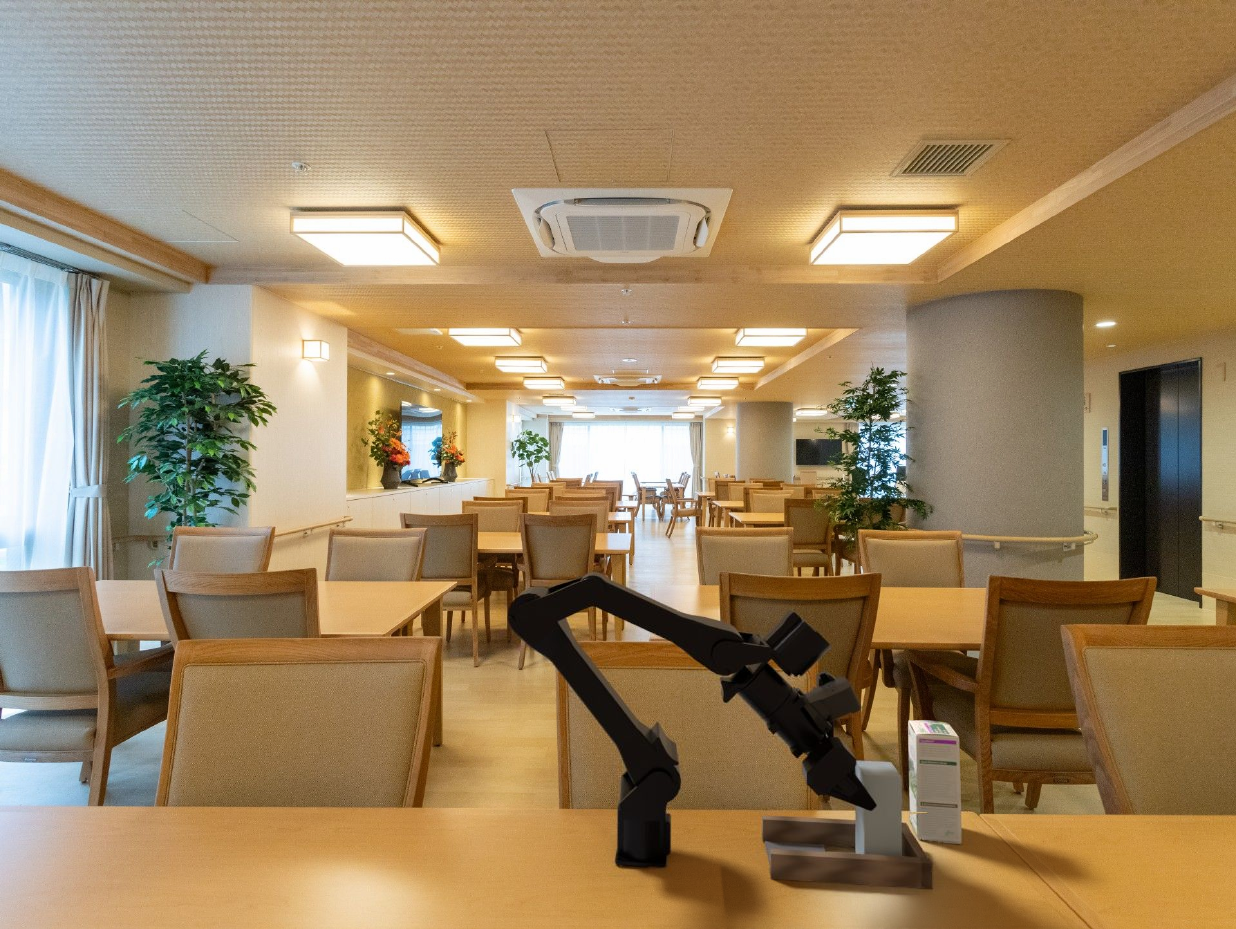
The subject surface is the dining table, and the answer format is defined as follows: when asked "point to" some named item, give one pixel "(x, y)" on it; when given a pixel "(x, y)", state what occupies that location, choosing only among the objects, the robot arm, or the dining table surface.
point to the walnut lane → (839, 854)
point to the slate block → (879, 810)
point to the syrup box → (934, 781)
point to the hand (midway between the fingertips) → (864, 791)
